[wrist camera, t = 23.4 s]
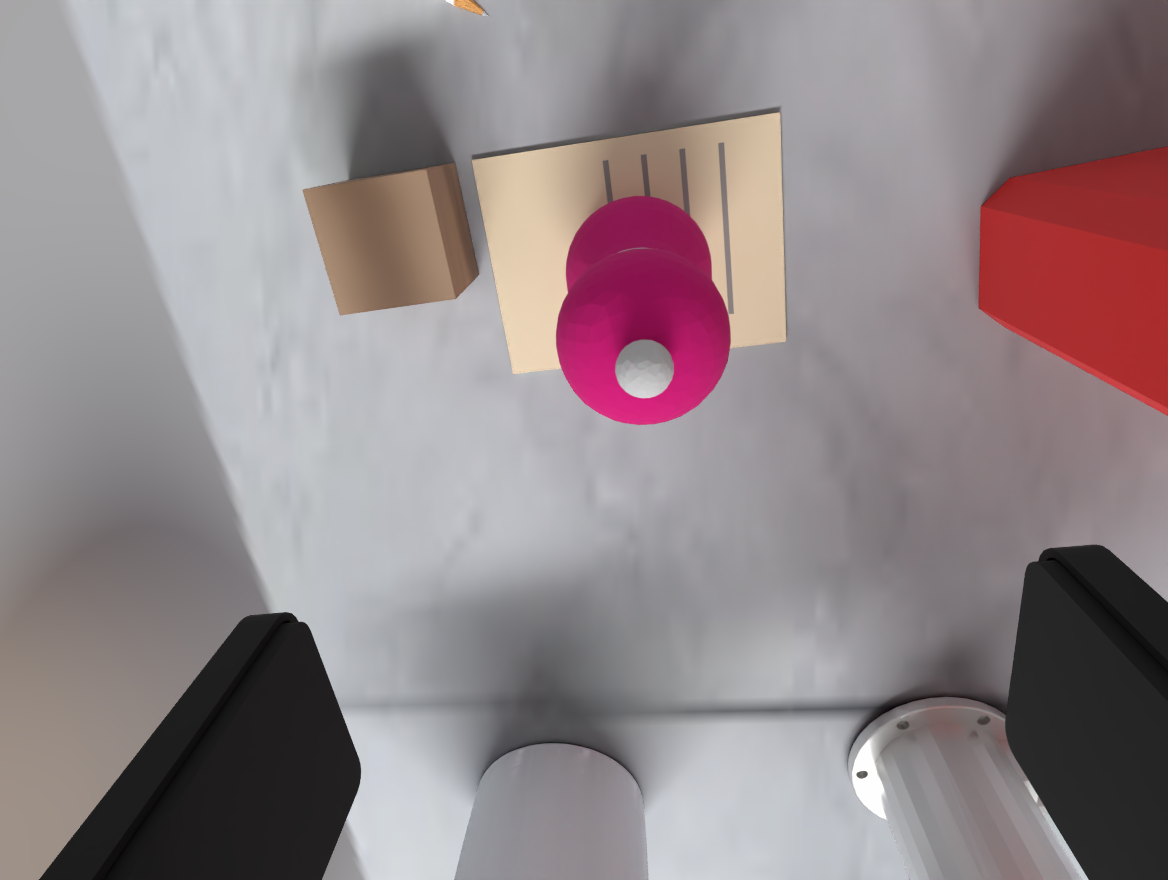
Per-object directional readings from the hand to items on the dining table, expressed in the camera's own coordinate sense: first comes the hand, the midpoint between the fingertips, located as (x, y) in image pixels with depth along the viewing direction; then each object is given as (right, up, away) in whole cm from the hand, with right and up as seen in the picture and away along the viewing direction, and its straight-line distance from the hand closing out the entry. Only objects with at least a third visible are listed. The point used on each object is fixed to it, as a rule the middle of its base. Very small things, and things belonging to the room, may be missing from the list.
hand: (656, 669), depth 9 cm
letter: (+2, +13, +29) cm, 32 cm away
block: (-10, +15, +30) cm, 35 cm away
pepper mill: (+2, +13, +29) cm, 32 cm away
